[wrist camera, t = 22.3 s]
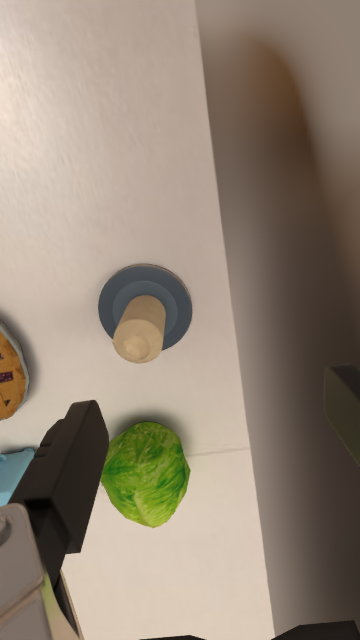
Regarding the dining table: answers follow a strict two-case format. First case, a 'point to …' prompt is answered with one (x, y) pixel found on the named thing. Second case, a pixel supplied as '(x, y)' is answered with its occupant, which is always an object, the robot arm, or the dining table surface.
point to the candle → (141, 330)
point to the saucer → (147, 283)
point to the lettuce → (146, 473)
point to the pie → (11, 374)
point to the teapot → (12, 472)
